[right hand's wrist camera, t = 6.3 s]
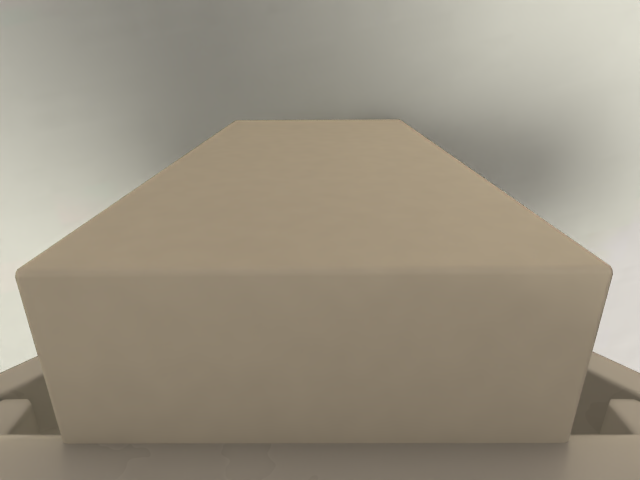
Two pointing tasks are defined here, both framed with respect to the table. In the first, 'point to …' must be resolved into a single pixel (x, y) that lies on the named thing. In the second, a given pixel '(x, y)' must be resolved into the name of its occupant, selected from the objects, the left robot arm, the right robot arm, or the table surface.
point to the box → (315, 299)
